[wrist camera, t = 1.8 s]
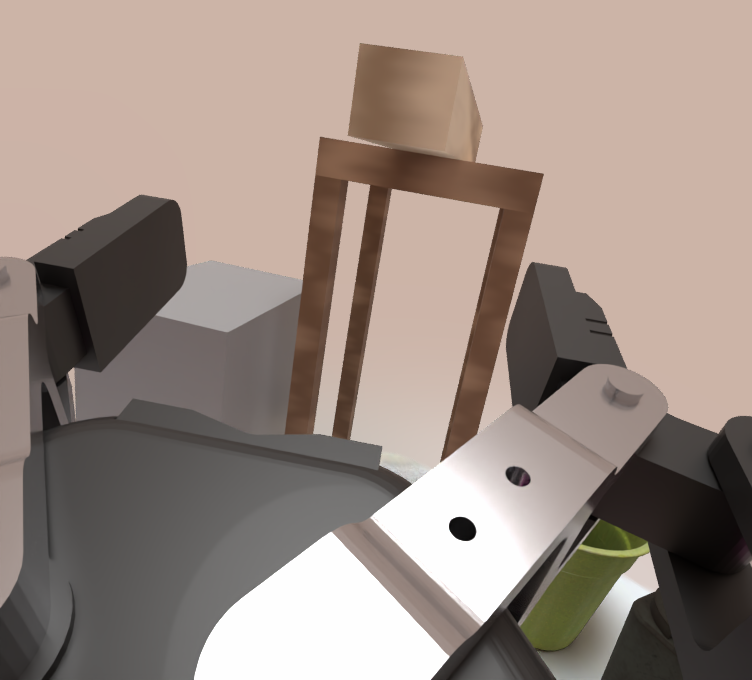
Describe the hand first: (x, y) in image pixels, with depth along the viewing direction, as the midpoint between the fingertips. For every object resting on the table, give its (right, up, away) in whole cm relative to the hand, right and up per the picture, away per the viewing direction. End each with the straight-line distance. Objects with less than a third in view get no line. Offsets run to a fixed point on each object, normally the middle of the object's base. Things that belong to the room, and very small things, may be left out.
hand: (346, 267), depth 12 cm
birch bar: (+4, +9, +18) cm, 20 cm away
